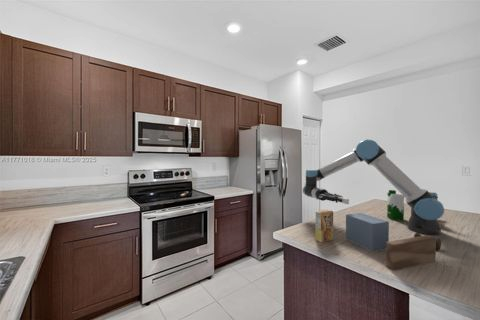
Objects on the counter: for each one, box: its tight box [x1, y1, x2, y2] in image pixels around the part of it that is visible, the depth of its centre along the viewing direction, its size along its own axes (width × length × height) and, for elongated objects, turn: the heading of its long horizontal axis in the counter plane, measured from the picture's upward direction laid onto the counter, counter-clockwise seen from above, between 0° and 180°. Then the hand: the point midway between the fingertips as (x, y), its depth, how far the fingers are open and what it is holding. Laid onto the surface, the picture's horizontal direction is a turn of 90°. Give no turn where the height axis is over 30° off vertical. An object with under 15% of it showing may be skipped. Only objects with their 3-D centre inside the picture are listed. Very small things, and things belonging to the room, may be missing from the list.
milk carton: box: [386, 189, 405, 221], centre depth 147 cm, size 9×9×20 cm
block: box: [345, 212, 390, 252], centre depth 106 cm, size 16×10×13 cm, turn 17°
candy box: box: [314, 209, 334, 243], centre depth 110 cm, size 9×4×15 cm, turn 116°
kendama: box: [413, 232, 442, 251], centre depth 100 cm, size 6×10×20 cm
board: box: [385, 234, 437, 271], centre depth 86 cm, size 3×24×10 cm, turn 107°
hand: (347, 201), depth 117 cm, fingers closed
